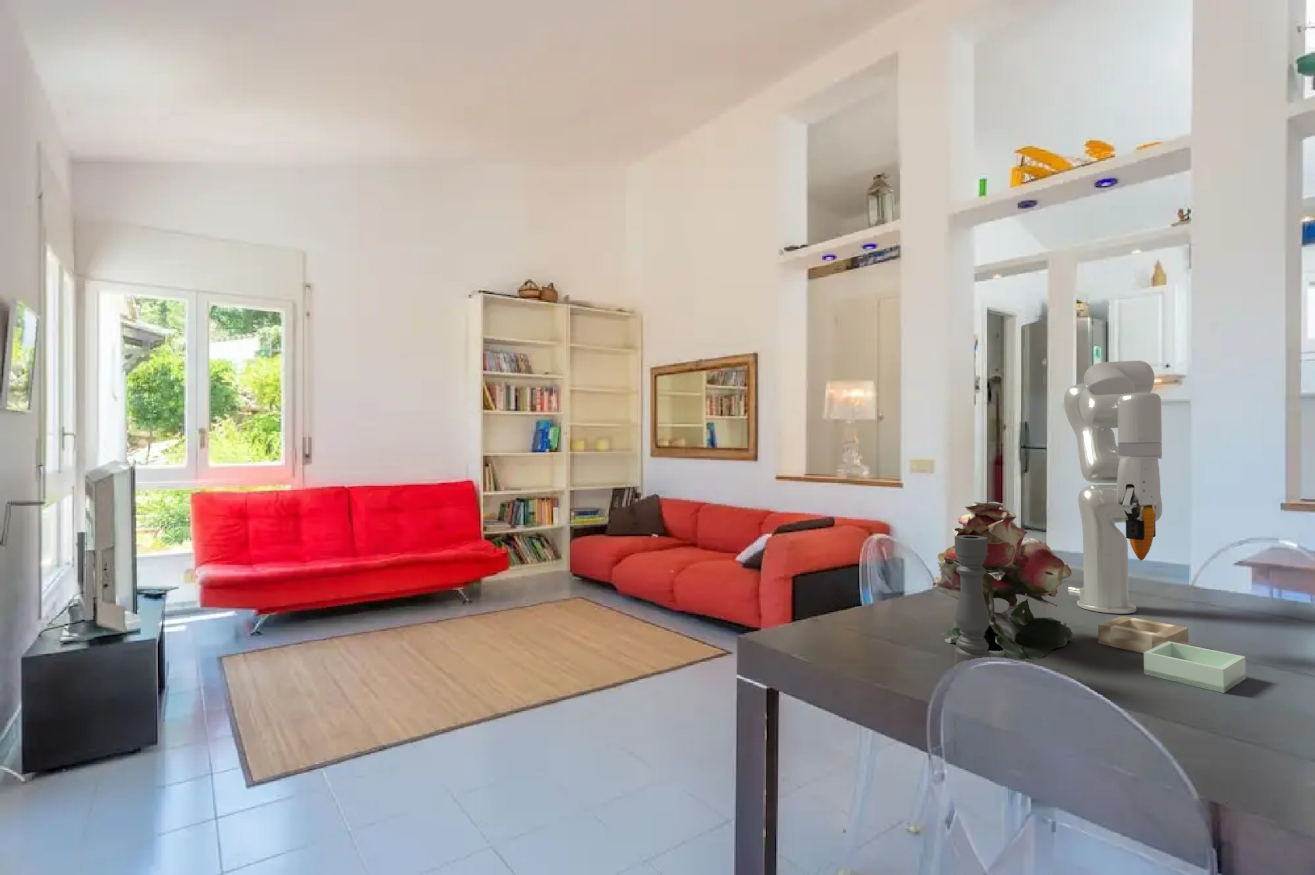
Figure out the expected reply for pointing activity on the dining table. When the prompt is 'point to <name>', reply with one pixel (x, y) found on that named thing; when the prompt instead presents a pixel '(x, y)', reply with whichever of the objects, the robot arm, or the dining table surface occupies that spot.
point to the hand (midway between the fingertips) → (1140, 537)
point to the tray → (1195, 666)
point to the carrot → (1144, 545)
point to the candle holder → (971, 598)
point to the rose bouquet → (1009, 583)
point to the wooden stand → (1139, 634)
